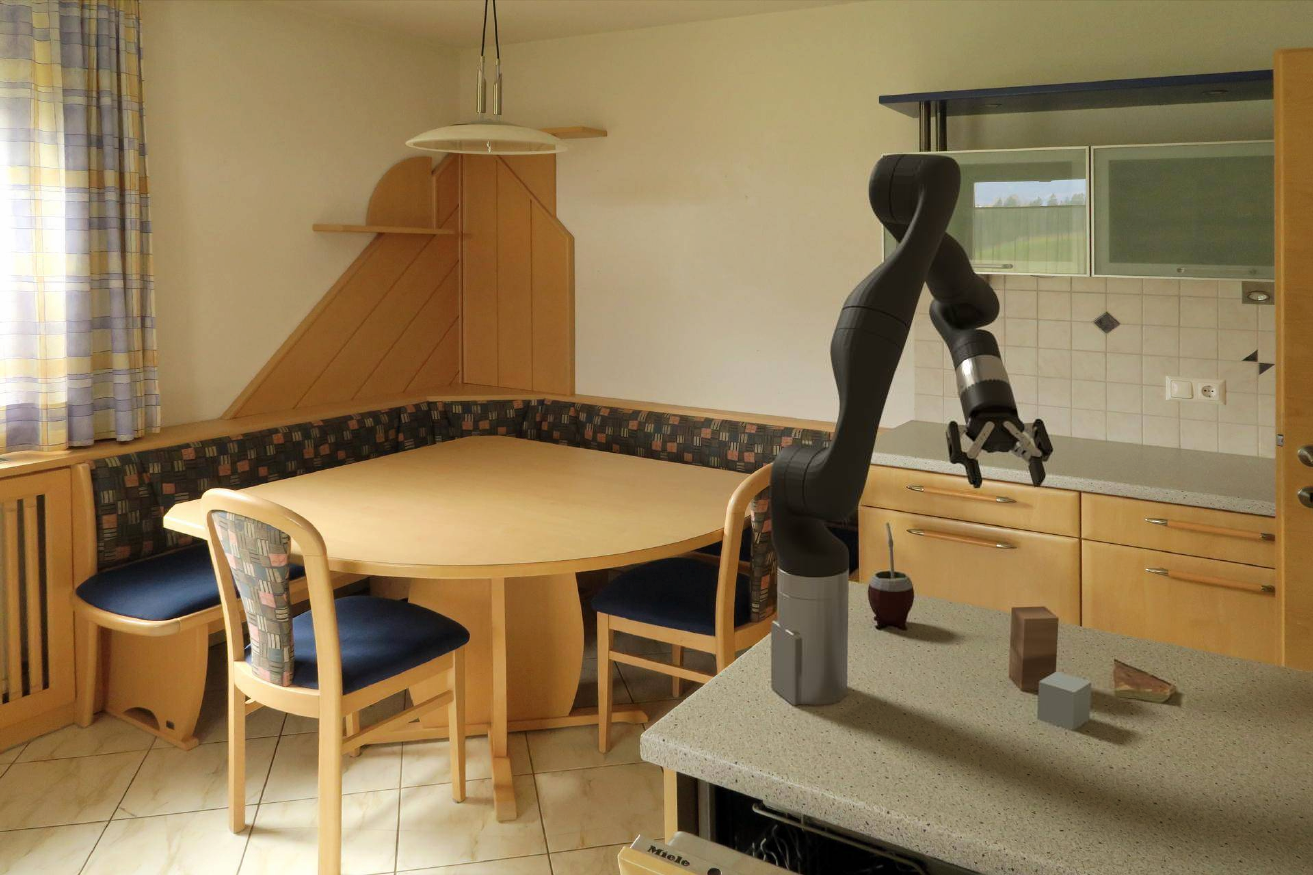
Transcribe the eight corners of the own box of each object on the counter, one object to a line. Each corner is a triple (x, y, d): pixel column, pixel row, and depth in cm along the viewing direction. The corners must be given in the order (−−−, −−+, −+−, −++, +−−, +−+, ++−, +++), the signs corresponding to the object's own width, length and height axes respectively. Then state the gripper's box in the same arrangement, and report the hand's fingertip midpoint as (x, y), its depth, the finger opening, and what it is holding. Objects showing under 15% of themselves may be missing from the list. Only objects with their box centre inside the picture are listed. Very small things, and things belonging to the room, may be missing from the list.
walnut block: (1054, 689, 136) (1058, 617, 134) (1021, 690, 136) (1024, 618, 134) (1041, 676, 140) (1044, 606, 138) (1008, 677, 140) (1011, 607, 138)
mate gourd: (892, 636, 156) (894, 540, 153) (853, 622, 162) (855, 530, 159) (924, 625, 160) (927, 532, 157) (885, 611, 166) (887, 522, 164)
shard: (1113, 668, 143) (1113, 656, 143) (1174, 676, 140) (1175, 664, 140) (1111, 699, 134) (1111, 686, 133) (1176, 708, 131) (1177, 695, 130)
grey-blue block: (1072, 731, 124) (1074, 692, 123) (1037, 719, 127) (1039, 681, 127) (1089, 719, 127) (1091, 681, 126) (1054, 708, 130) (1056, 671, 130)
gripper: (943, 378, 151) (964, 472, 141) (1040, 376, 151) (1067, 469, 141) (932, 408, 157) (952, 500, 148) (1025, 406, 157) (1051, 497, 148)
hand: (1008, 484), depth 145 cm, fingers open, 8 cm apart
